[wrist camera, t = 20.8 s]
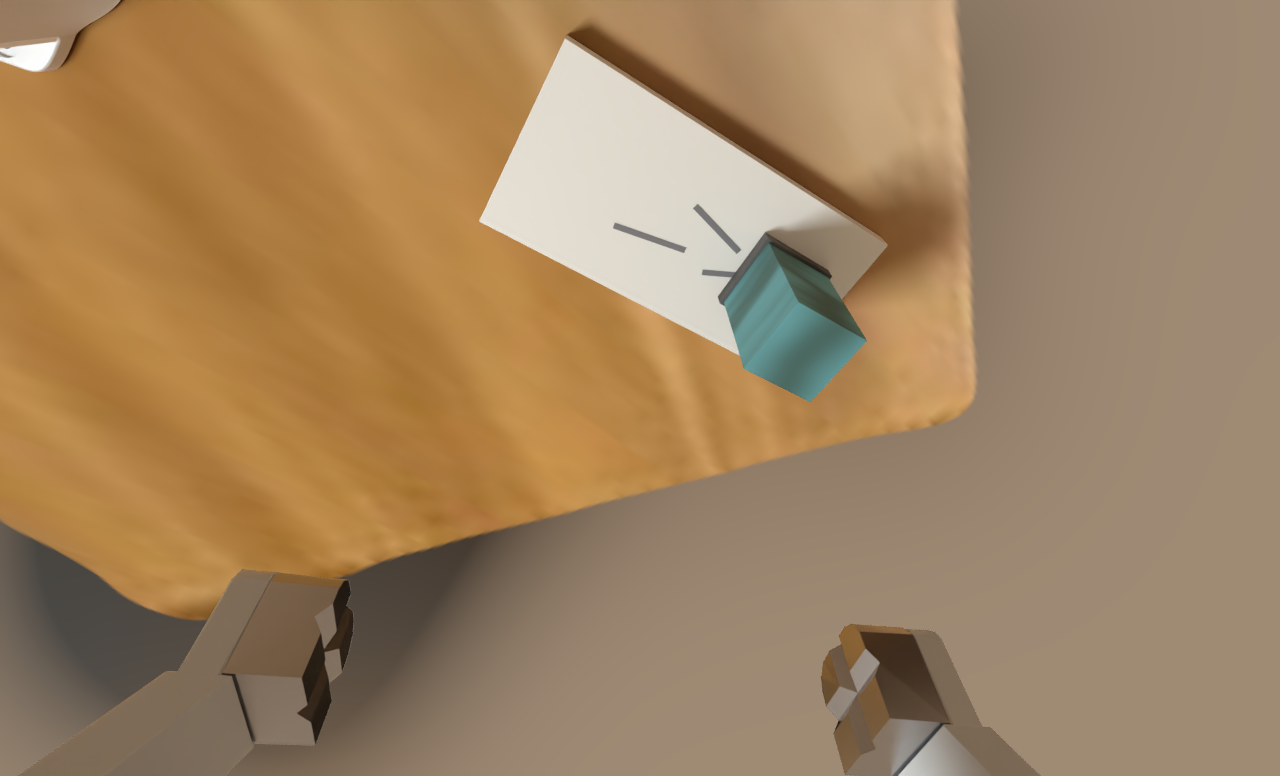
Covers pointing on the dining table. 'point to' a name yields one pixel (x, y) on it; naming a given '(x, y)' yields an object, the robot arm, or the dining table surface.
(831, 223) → the board
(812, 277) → the block
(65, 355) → the dining table surface
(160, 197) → the dining table surface
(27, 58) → the robot arm
